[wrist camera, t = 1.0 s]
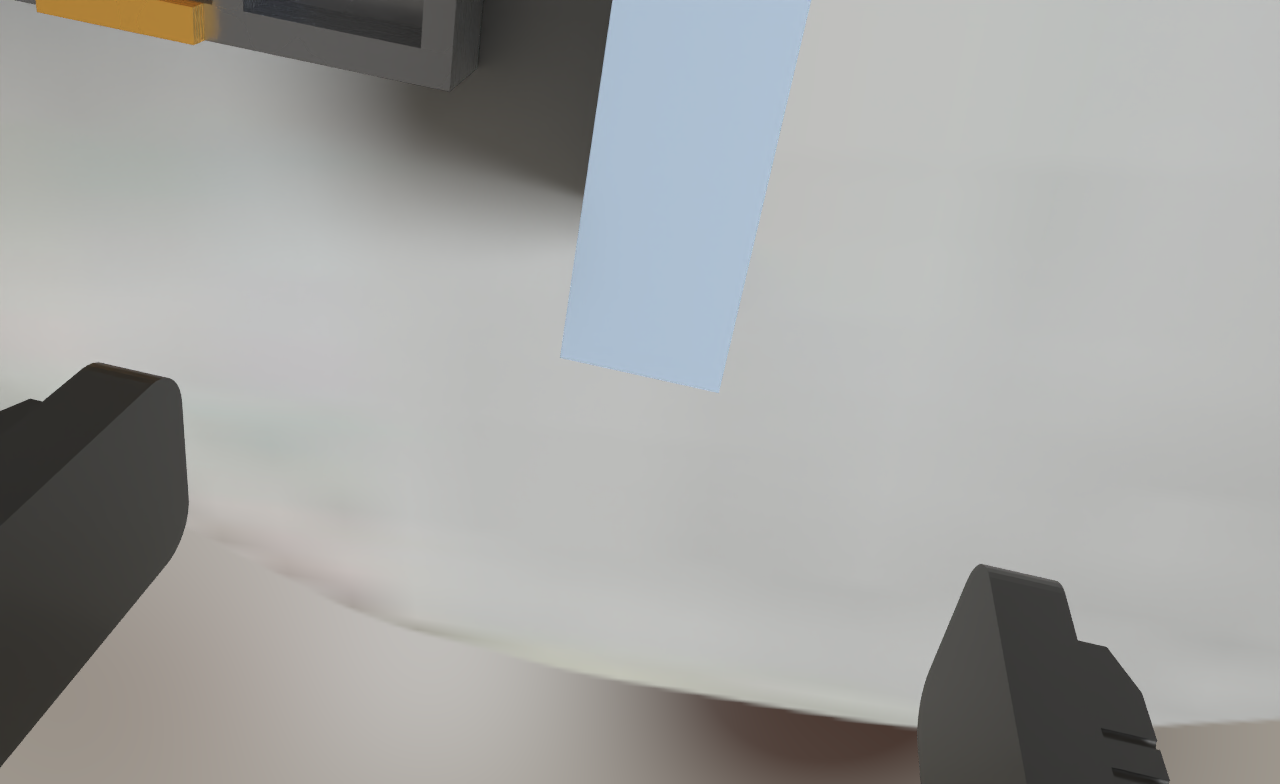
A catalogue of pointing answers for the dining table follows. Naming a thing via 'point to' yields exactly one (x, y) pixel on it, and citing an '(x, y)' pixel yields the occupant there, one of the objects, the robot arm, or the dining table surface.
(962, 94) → the dining table surface
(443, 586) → the dining table surface
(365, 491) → the dining table surface
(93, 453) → the robot arm
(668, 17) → the panel
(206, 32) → the rack
